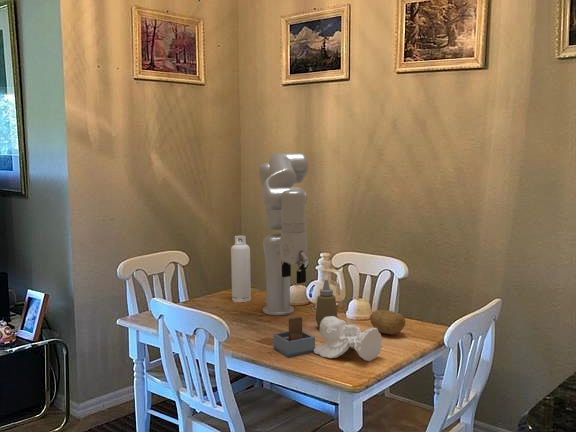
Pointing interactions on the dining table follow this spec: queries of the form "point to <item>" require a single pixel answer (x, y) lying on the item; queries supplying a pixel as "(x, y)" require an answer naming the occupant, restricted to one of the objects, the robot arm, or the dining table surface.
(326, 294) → the squeeze bottle
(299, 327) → the brown rectangular block
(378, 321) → the potato
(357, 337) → the cherub figurine
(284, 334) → the grey open storage bin
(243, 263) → the bottle
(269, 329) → the dining table surface
